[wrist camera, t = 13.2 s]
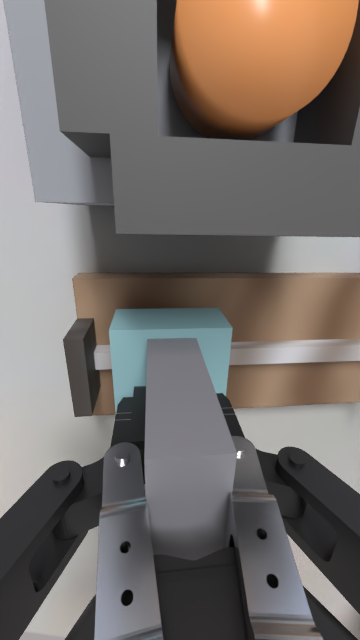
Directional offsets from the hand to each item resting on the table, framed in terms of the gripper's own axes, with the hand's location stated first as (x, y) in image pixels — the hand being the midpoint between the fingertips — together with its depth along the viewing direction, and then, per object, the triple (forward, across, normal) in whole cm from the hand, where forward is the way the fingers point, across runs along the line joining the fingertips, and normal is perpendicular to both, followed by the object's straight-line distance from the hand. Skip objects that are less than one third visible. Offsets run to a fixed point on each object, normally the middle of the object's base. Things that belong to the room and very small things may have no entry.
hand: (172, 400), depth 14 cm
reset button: (-2, -2, -13) cm, 13 cm away
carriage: (+4, 0, 0) cm, 4 cm away
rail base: (+7, -6, 0) cm, 9 cm away
